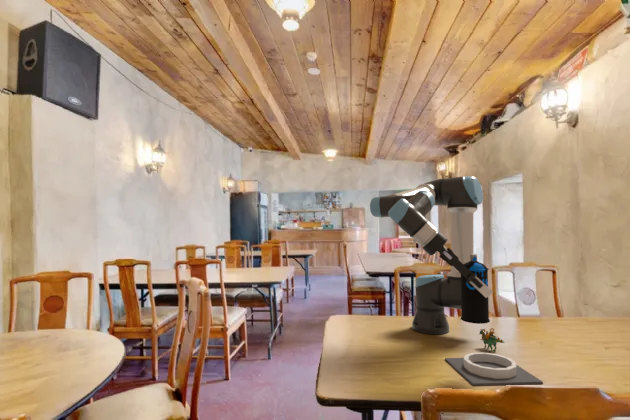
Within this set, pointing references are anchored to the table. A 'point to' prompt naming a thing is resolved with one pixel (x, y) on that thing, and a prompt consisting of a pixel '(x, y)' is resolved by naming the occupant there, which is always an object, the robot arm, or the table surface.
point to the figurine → (490, 339)
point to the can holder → (491, 370)
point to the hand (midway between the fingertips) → (486, 291)
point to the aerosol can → (474, 294)
